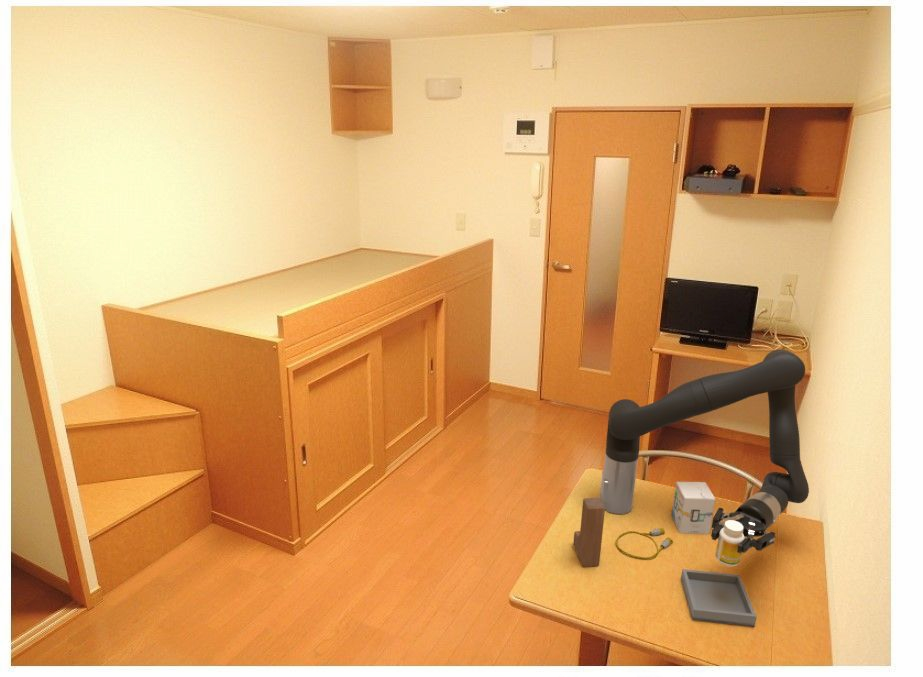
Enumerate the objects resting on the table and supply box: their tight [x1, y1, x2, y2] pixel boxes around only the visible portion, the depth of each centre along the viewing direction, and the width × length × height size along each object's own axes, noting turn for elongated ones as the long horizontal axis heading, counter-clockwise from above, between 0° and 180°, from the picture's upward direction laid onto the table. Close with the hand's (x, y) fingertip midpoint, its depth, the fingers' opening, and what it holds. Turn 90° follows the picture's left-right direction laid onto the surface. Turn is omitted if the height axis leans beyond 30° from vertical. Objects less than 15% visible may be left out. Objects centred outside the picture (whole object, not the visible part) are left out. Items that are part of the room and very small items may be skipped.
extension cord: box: [615, 527, 674, 561], centre depth 166 cm, size 12×16×2 cm
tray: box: [680, 568, 758, 628], centre depth 146 cm, size 14×14×3 cm
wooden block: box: [573, 497, 606, 568], centre depth 159 cm, size 9×4×18 cm, turn 6°
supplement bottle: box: [715, 520, 746, 567], centre depth 142 cm, size 5×5×10 cm
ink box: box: [671, 480, 716, 535], centre depth 173 cm, size 8×8×12 cm
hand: (726, 542), depth 140 cm, fingers closed on supplement bottle, 5 cm apart
